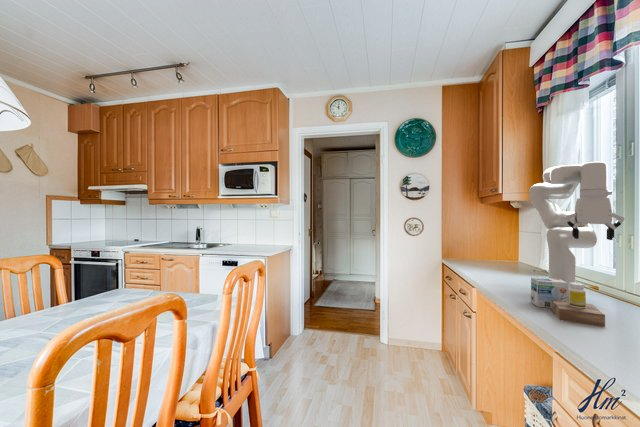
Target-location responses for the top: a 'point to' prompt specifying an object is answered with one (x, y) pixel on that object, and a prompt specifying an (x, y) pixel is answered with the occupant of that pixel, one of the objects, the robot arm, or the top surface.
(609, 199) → the robot arm
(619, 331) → the top surface
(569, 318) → the walnut stand
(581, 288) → the supplement bottle
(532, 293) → the light bulb box
